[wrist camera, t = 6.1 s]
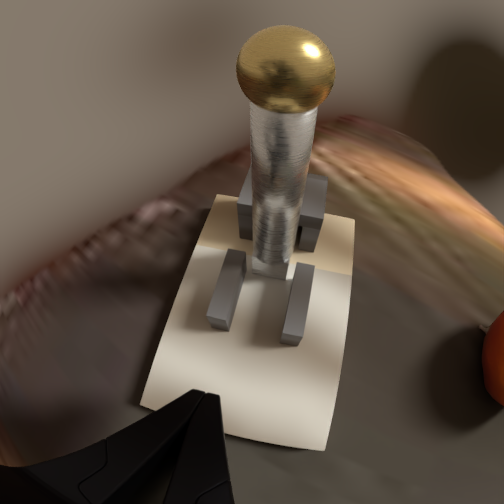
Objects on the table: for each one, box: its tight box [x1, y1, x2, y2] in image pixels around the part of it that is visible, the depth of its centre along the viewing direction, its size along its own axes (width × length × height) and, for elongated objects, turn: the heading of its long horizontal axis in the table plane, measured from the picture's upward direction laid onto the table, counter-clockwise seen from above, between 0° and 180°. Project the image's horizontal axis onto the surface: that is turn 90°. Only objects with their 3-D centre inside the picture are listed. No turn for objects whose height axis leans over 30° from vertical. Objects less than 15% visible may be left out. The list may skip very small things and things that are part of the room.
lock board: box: [140, 166, 355, 451], centre depth 15 cm, size 15×10×5 cm, turn 166°
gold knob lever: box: [236, 25, 336, 281], centre depth 13 cm, size 6×3×13 cm, turn 167°
